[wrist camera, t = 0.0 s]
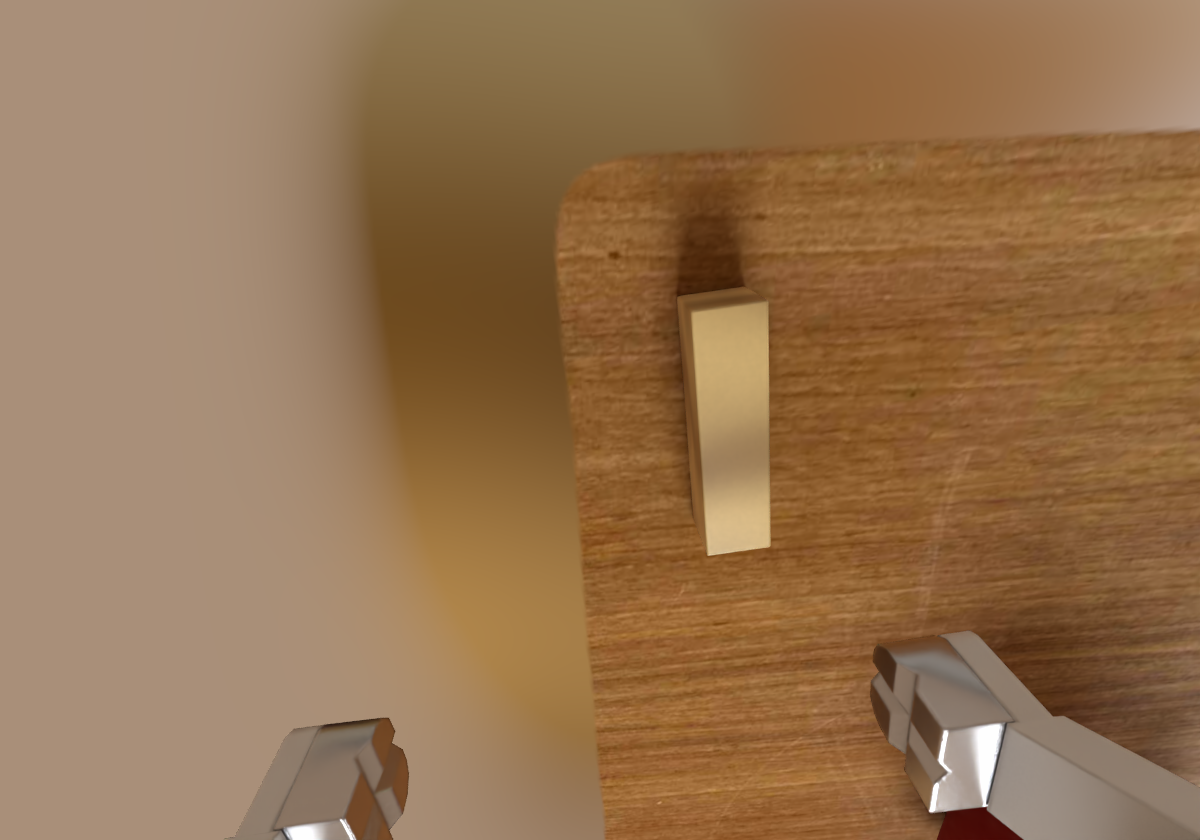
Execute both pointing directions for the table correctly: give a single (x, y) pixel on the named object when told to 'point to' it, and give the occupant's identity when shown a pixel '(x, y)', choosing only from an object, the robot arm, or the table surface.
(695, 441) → the beige rectangular block
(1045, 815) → the robot arm
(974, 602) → the table surface
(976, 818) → the apple
